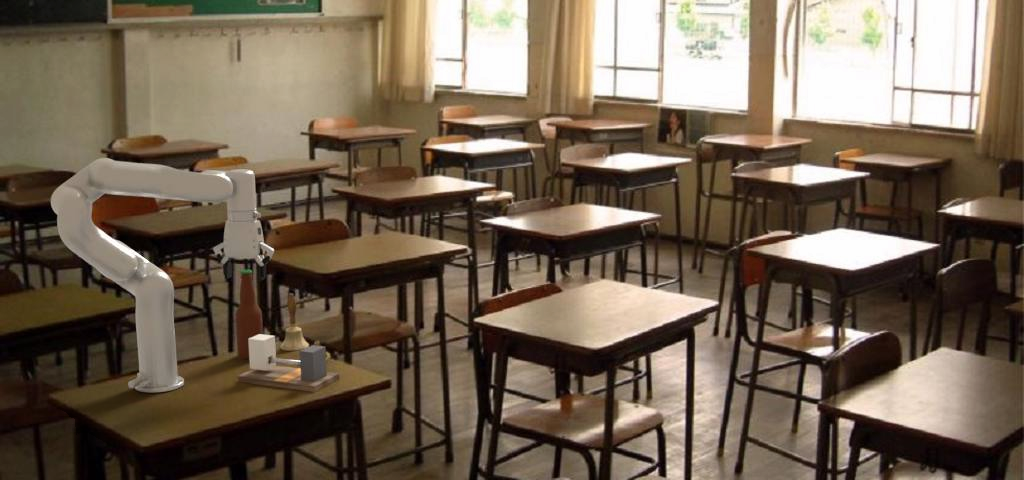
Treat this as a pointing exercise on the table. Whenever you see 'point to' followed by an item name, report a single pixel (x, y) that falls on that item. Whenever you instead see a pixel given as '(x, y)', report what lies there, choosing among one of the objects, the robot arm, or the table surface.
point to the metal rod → (284, 361)
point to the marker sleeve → (261, 351)
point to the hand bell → (293, 330)
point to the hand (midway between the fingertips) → (245, 278)
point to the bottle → (247, 315)
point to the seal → (318, 345)
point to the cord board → (286, 378)
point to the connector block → (313, 363)
